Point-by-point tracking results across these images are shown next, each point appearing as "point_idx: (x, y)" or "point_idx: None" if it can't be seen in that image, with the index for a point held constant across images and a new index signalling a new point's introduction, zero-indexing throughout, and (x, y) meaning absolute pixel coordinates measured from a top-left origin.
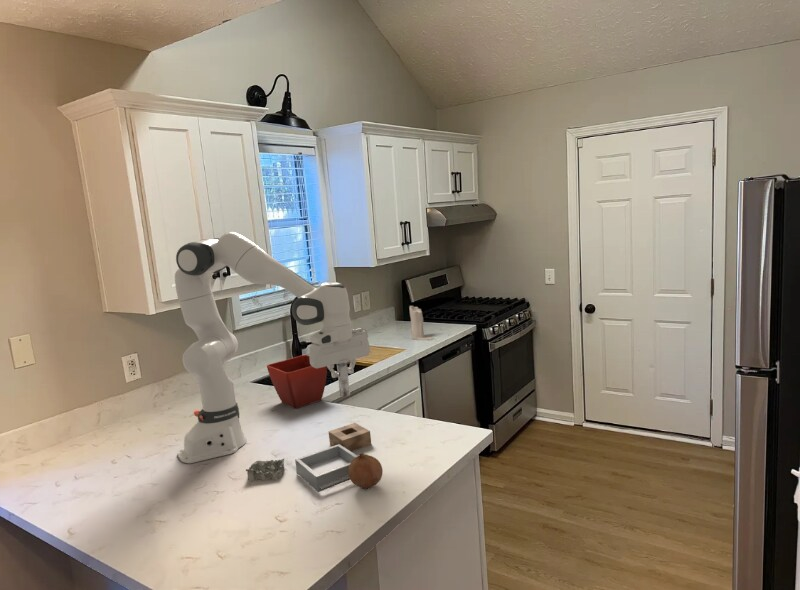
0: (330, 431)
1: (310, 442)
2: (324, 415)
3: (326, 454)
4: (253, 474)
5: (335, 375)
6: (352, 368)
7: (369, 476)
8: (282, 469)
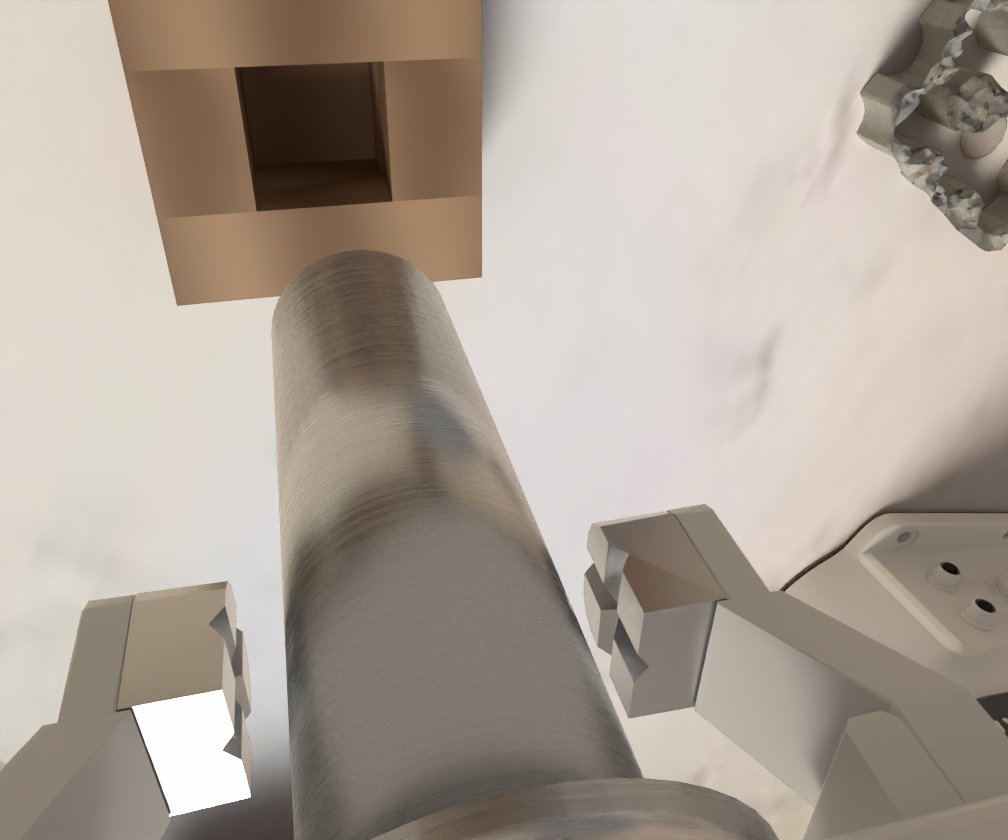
0: (468, 262)
1: (511, 406)
2: (252, 729)
3: None
4: None
5: (686, 539)
6: (104, 698)
7: None
8: (896, 79)
